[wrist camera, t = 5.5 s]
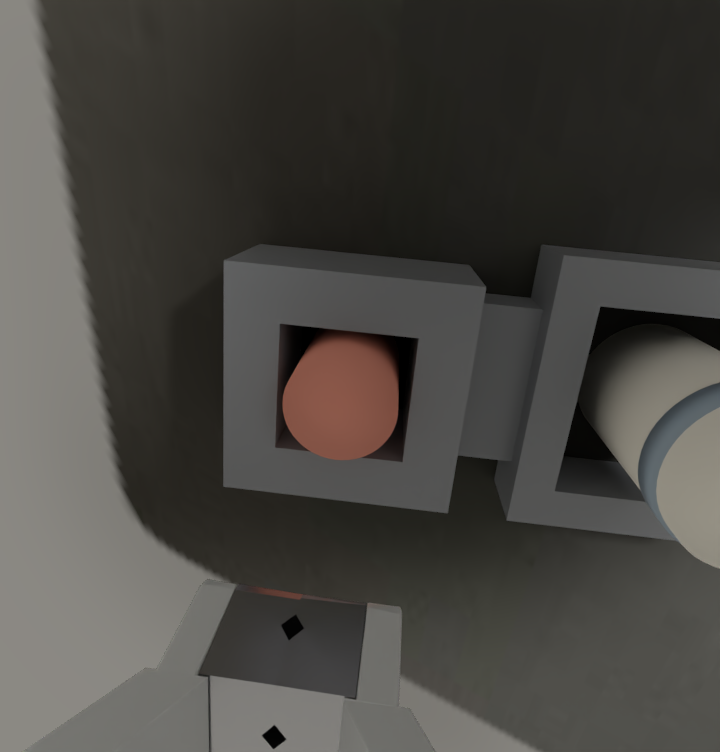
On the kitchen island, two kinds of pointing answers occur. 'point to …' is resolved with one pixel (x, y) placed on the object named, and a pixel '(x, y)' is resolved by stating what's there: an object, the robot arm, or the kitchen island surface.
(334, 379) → the plunger
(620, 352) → the cartridge
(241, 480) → the housing
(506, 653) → the kitchen island surface
